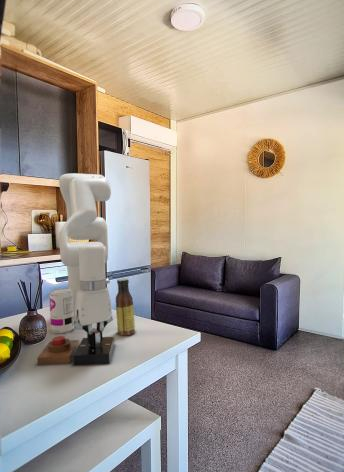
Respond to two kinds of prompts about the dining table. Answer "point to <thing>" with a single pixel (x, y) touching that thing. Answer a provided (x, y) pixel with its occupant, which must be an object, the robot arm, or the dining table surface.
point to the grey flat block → (96, 338)
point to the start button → (59, 340)
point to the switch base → (94, 352)
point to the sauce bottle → (124, 308)
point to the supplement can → (61, 310)
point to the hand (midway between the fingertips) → (95, 344)
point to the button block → (58, 353)
